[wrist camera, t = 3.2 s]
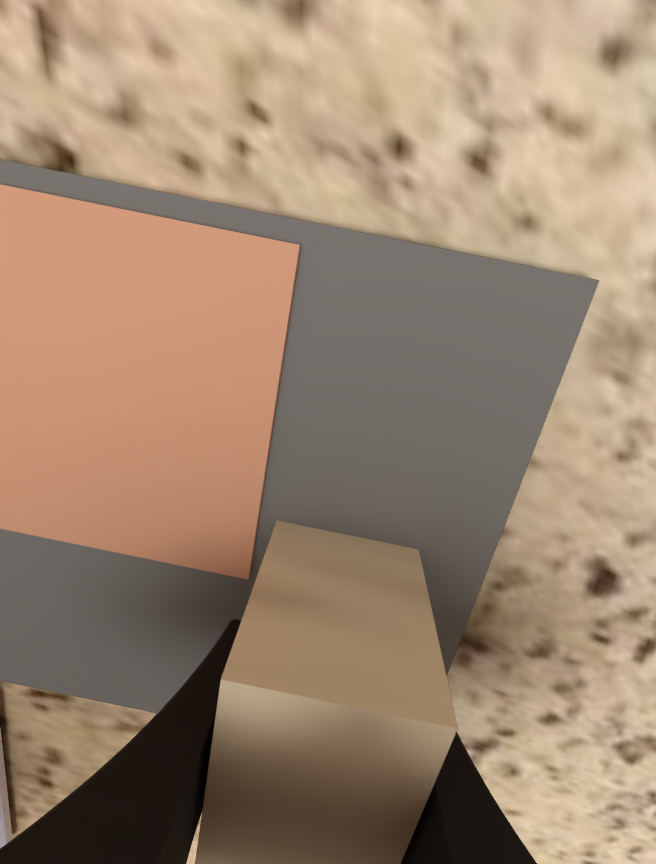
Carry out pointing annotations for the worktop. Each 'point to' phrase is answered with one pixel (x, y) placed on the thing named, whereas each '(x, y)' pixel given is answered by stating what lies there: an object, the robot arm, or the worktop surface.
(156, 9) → the worktop surface
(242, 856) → the birch block
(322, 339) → the rubber mat
